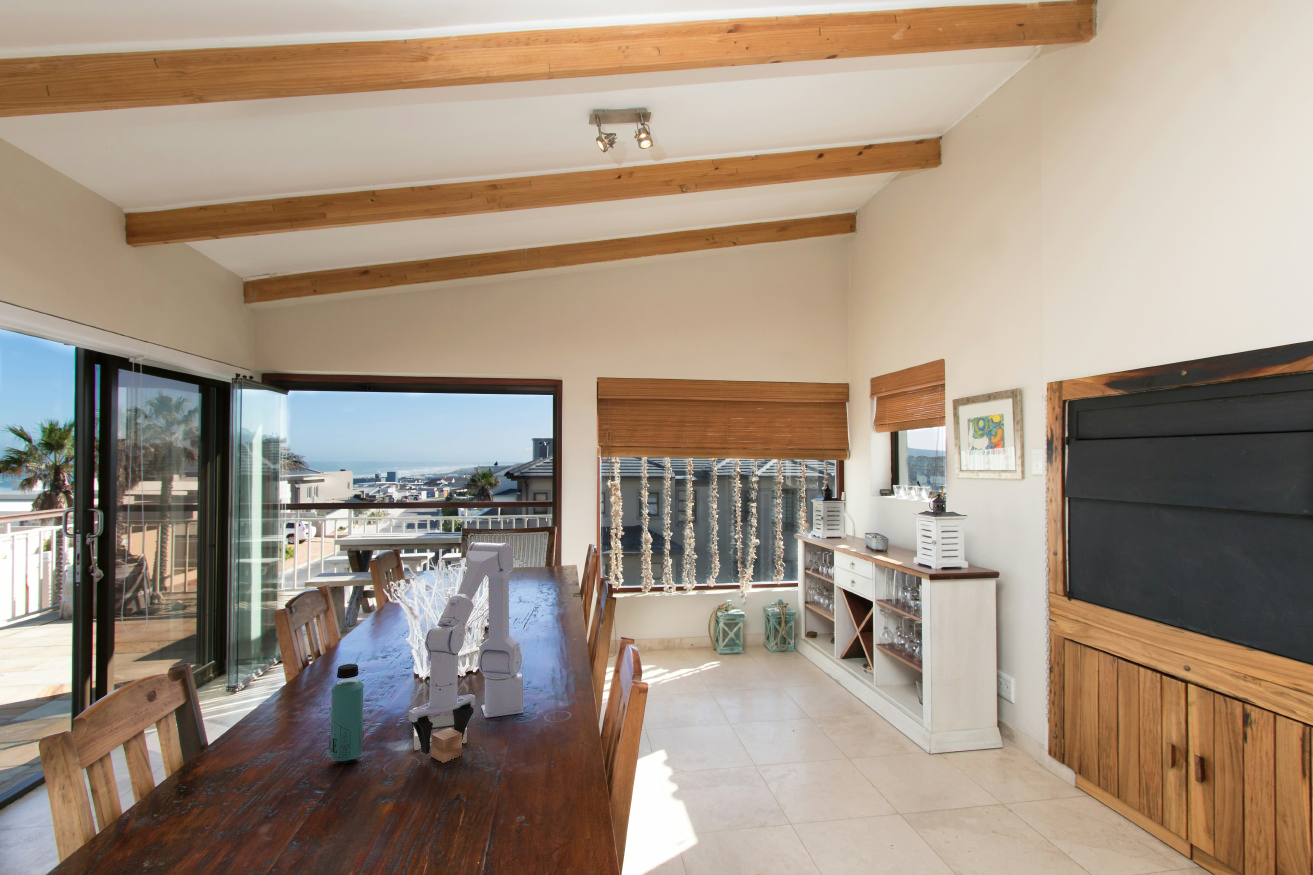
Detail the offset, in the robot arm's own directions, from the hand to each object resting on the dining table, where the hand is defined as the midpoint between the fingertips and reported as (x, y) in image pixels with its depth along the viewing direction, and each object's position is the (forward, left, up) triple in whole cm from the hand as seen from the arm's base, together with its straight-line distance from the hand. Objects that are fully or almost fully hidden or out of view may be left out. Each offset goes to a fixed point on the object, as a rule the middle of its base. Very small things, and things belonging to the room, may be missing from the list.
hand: (442, 746), depth 139 cm
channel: (0, -14, -2) cm, 14 cm away
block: (-1, 0, -2) cm, 3 cm away
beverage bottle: (+19, -4, -2) cm, 20 cm away
